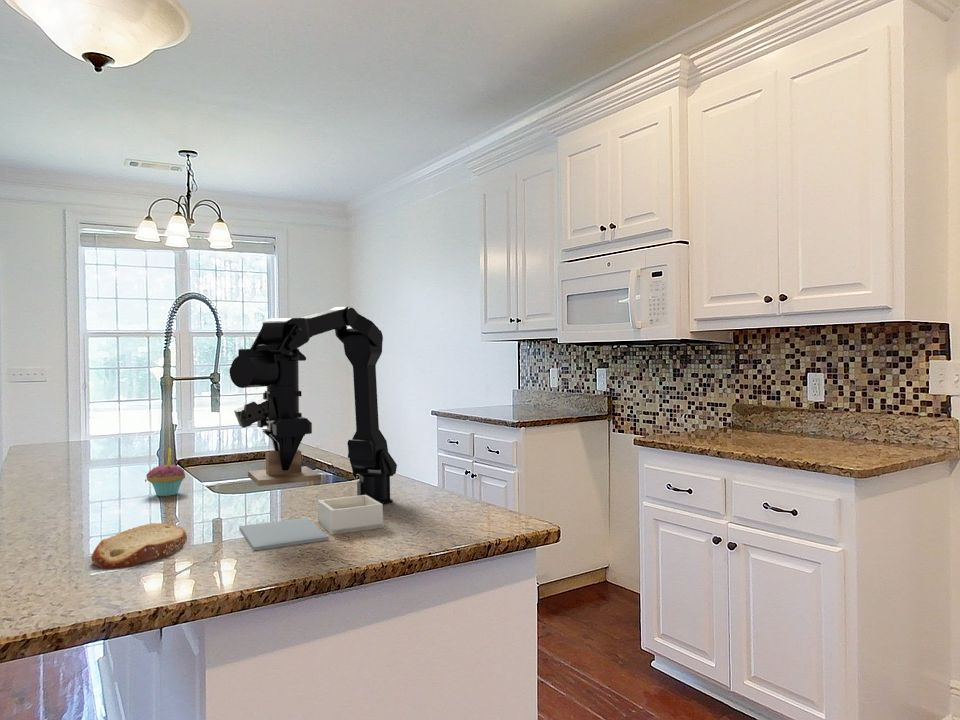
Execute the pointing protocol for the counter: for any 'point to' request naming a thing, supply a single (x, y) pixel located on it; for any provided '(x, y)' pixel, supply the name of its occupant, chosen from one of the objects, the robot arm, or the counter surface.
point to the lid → (283, 471)
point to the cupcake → (166, 478)
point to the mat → (282, 533)
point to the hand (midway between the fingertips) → (283, 469)
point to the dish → (350, 514)
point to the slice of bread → (138, 545)
